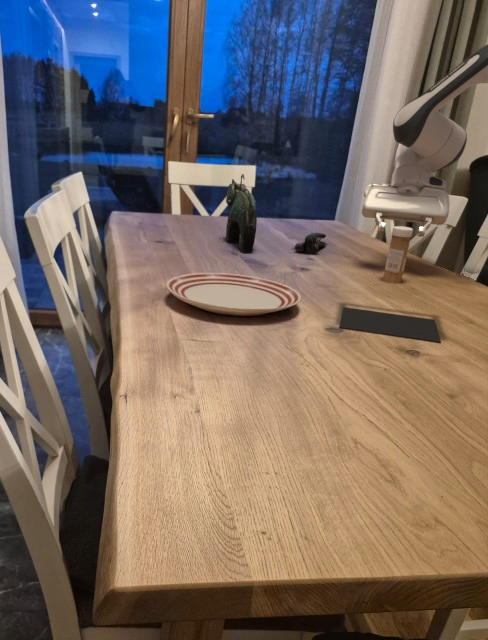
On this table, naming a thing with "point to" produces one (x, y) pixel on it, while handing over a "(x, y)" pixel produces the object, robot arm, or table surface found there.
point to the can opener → (311, 243)
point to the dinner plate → (232, 293)
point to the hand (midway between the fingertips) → (400, 232)
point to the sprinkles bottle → (397, 254)
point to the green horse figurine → (241, 216)
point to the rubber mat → (389, 324)
